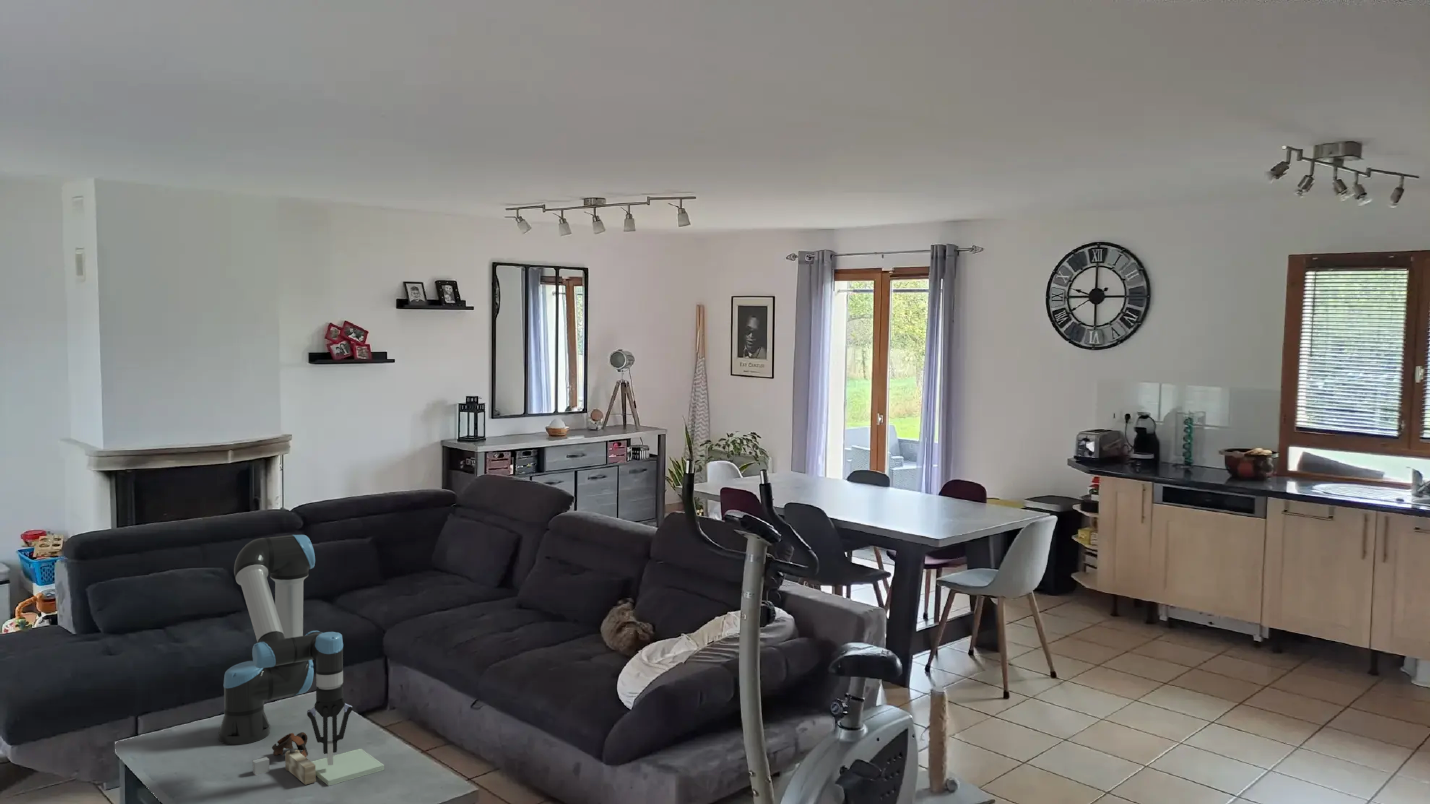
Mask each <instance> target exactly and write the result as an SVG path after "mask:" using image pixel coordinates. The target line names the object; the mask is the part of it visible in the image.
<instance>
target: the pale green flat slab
mask: <svg viewBox="0 0 1430 804" xmlns="http://www.w3.org/2000/svg"><path fill="white" fill-rule="evenodd" d="M311 762H312V763H313V764H315V769H316V777H317V778H318V779H319V780H320V781H322V782H323V783H325V785H327V786H328V787H330V786H333V785H336V784H339V783H342V782H343V783H344V782H347V781H350V780H354V779H357V778H360V777H365V776H368V775H371V774H375V773H378V772H382V771H384V770H385V764H383V762H380V760H378V759H376V758H375V757H374V756H372V755H371V754H370V753H368V752H366V751H365V750H364V749H362V748H358V749H353V750H350V751H345V752H343V753H338V754H335V755H334V754H333V765H328V762H327V757H324V758H320V759H316V760H313V761H311ZM269 772H270V758H268V757H267V756H265V757H261V758H258V759H253V760H252V774H253V775H255V776H257V775H262V774H266V773H269Z"/></svg>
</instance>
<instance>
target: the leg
mask: <svg viewBox="0 0 1430 804" xmlns="http://www.w3.org/2000/svg"><path fill="white" fill-rule="evenodd" d="M284 754H285V759H284V761H285V762H284V763H285V767H284V768H285V771H286V772H289V773H290V774H292V775H293V776H294V777H295V778H297V779H298V780H299V781H301V783H303V784H304V785H309V784H313V783H316V782H317V781H316V777H317V776H316V769H315V764H313V763H312V761H311V760H310V759H308V757H307V756H306V757H305V756H303V755H302V754H301V750H298V749H294V748H293V749H289V750H286V751H285V753H284Z"/></svg>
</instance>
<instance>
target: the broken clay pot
mask: <svg viewBox="0 0 1430 804" xmlns="http://www.w3.org/2000/svg"><path fill="white" fill-rule="evenodd" d="M276 742H277V743H274V744H273V745H272V747H271V749H272V750H273V752H272V755H273V756H280V755H281V756H283V755H284V749H286V750H288V749H289V750H291V749H294V746H293V743H295V745H296V747H297V750H299V751H300V753H301V754H302V755H303V756H305V757H306V758H307V756H309V753H308V752H309V751H308V749H307V746H306V745H307V744H308V743H307V742H308V735H307V733H306V732H299V733H297V734H296V735H295V733H293V732H291V733H288V734H286V735H284V736H283V737H281V738H280V739H279V740H277V741H276ZM279 754H280V755H279Z"/></svg>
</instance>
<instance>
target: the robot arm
mask: <svg viewBox="0 0 1430 804" xmlns="http://www.w3.org/2000/svg"><path fill="white" fill-rule="evenodd" d="M311 541H312V540H310V537H309V536H307V535H305V534H289V535H288V534H287V535H281V536H280V535H279V536H272V537H271V536H270V537H261V538H256V539H252V540H251V541H249V542H248V543H246V544H245V546H244V547H242V549H241V550H240V551H239V552H238V554H237V556H236V559H235V561H234V565H233V574H234V578H235V581H236V583H237V584H238V585H239V586H240V587H241V590H242V593H243V597H244V600H245V604H246V607H247V610H248V614H249V618H250V621H251V624H252V629H253V631H254V634H255V639H256V643H254V644H253V646H252V651H251V653H252V654H251V655H252V660H246V661H243V662H239V663H236V664H234V665H232V666H231V667H229V668H228V669H227V670H226V671H225V672H224V678H223V705H224V707H223V708H224V711H223V713H224V714H223V718H222V721H221V724H220V727H219V731H218V741H219V743H222V744H226V745H246V744H251V743H254V742H255V743H256V742H258V741H260V740H263V739H265V738H266V737H268V736H269V735H270V734H271V726H270V723H269V720H268V717H267V714H266V712H265V706H264V705H265V701H273V700H277V699H282V698H286V697H295V696H298V695H300V694H301V695H302V694H305V693H307V692H308V691H309V690H310V689H311V687H312V684H313V681H314V674H315V685H316V688H315V691H316V692H315V703H314V706H313V708H311V709H307V711H306V716H307V717H308V719H310V721H311V726H312V729H313V732H314V735H315V739H316V742H317V743H322V744H323V745H322V747H323V750H322V751H323V752H322V753H323V754H324V755H326V756H327V757H326V758H327V762H328V765H333V756H334V753H337V751H338V742H339V741H340V740H343V739H344V736H345V732H346V728H347V724H348V721H349V717H350V715H351V713H352V711H353V705H352V704H348V703H346V702H345V700H344V685H343V683H344V668H343V667H344V665H343V664H344V659H343V658H344V656H343V655H344V642H343V634H341V633H340V632H336V631H326V632H322V631H319V630H311V631H309V632H307V633H306V634H305V635H304V581H305V579H307V578H308V577H309V570H311V569H314V568H315V564H316V556H315V555H316V554H315V549H314V546H313V543H312V542H311ZM269 575H270V576H269ZM268 576H269V577H270V579H271V580H272V581H273V582H274V584H275V585H274V586H275V588H274V592H275V593H274V595H275V596H274V597H275V598H273V594H272V590H271V588H270V585H269V582H268ZM313 660H314V661H315V669H314V662H313ZM314 670H315V672H314ZM342 710H343V716H342V720H341V723H340V728H339V732H338V715H339V714H340V712H341V711H342ZM316 712H317V713H318V714H319V716H321V717H322V721H323V722H322V734H323V735H322V734H321V732H320V729H319V724H318V721H317V718H316V716H317V713H316ZM330 717H331V721H332V722H331V728H332V729H331V730H332V731H331V732H332V737H331V738H332V739H331V740H329V739H328V738H329V737H328V736H329V733H328V732H329V731H328V729H329V727H328V725H329V723H328V721H329V720H328V719H329V718H330ZM321 735H322V736H321Z"/></svg>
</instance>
